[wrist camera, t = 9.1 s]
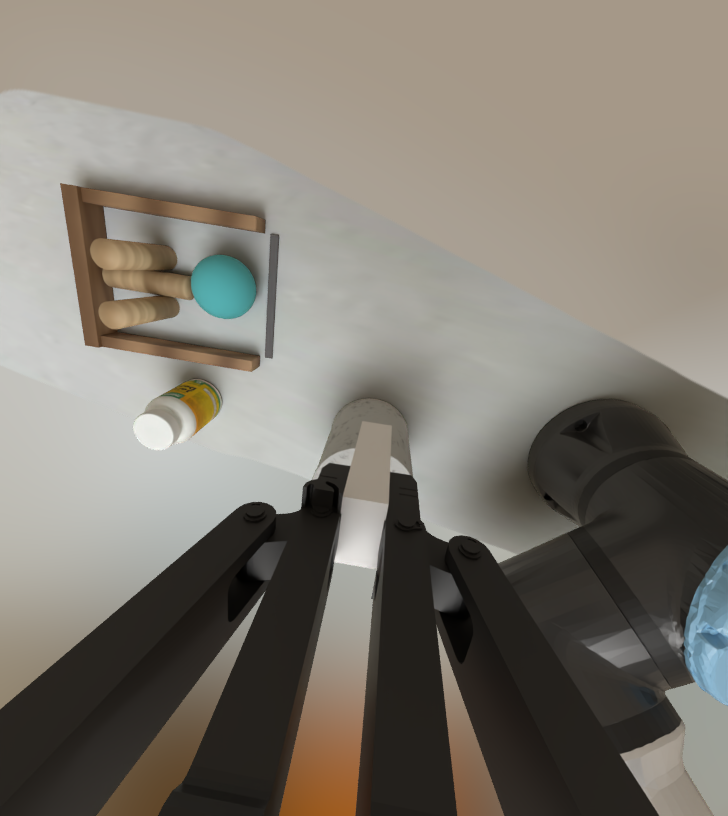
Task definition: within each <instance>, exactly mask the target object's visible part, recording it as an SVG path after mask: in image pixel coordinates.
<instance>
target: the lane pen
mask: <svg viewBox="0 0 728 816" xmlns="http://www.w3.org/2000/svg"><path fill="white" fill-rule="evenodd" d="M60 185H61V191H62V198H63V204H64V211H65V217H66V224H67V230H68V236H69V243H70V249H71V256H72V262H73V269H74V275H75V282H76V288H77V295H78V301H79V308H80V314H81V321H82V327H83V334H84V340H85V345H87V346H93V347H108V348H114V349H120V350H125V351H131V352H137V353H143V354H149V355H155V356H161V357H167V358H173V359H179V360H185V361H191V362H197V363H202V364H208V365H214V366H220V367H226V368H232V369H238V370H244V371H250V372H252V371H253V370H255V369H256V368H257V367H259V366H260V356H257V355H251V354H245V353H239V352H233V351H227V350H222V349H216V348H210V347H204V346H198V345H192V344H186V343H180V342H174V341H168V340H162V339H156V338H150V337H144V336H138V335H133V334H127V333H121V332H118V330H117V329H111V328H109V327H107V326H106V325H105V324H104V323H103V322H102V321H101V319H100V317H99V312H98V311H99V307H100V305H101V304H102V303H104V302H107V301H114V296H113V288H112V287H110V286H108V285H107V284H106V283H105V282H104V279H103V276H102V271H103V269H102V268H101V267H99V266H98V265H97V264H96V263H95V262H94V260H93V259H92V256H91V253H90V247H91V244H92V242H93V241H94V240H95V239H98V238H103V239H107V236H106V228H105V219H104V210H103V206H104V207H110V208H116V209H122V210H128V211H134V212H140V213H146V214H152V215H158V216H164V217H170V218H176V219H182V220H188V221H194V222H200V223H205V224H211V225H217V226H223V227H229V228H235V229H241V230H247V231H253V232H259V233H265V220H264V219H261V218H259V217H256V216H250V215H244V214H238V213H232V212H226V211H220V210H214V209H208V208H202V207H196V206H190V205H184V204H178V203H172V202H166V201H160V200H154V199H148V198H142V197H136V196H131V195H125V194H119V193H113V192H107V191H101V190H95V189H89V188H83V187H78V186H73V185H67V184H61V183H60Z"/></svg>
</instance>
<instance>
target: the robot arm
mask: <svg viewBox="0 0 728 816" xmlns="http://www.w3.org/2000/svg"><path fill="white" fill-rule="evenodd" d="M391 435H392V426H391V425H384V424H378V423H372V422H366V421H362V424H361V428H360V432H359V436H358V440H357V443H356V447H355V451H354V455H353V459H352V463H351V466H347V465H341V464H335V463H328V464H327V465H325V466H324V467H323V468H322V470H321V472H320V474H319V477H318V479H314V480H311V481H309V482H307V483H306V484H305V485H304V486H303V494H302V507H301V510H299V511H297V512H293V513H288V514H276V510H275V509H274V508H273V507H272V506H271V505H269V504H267V503H262V502H251V503H247V504H244V505H242V506H240V507H239V508H238V509H236V510H235V511H234V512H233V513H231V514H230V515H229V516H228V517H227V518H225V519H224V520H223V521H222V522H221V523H220V524H219V525H217V526H216V527H215V528H214V529H213V530H211V531H210V532H209V533H208V534H207V535H206V536H204V537H203V538H202V539H201V540H199V541H198V542H197V543H196V544H195V545H194V546H192V547H191V548H190V549H189V550H188V551H186V552H185V553H184V554H183V555H182V556H181V557H179V558H178V559H177V560H176V561H175V562H174V563H173V564H171V565H170V566H169V567H168V568H166V569H165V570H164V571H163V572H162V573H161V574H159V575H158V576H157V577H156V578H155V579H153V580H152V581H151V582H150V583H149V584H148V585H147V586H145V587H144V588H143V589H142V590H141V591H140V592H138V593H137V594H136V595H135V596H133V597H132V598H131V599H130V600H129V601H128V602H126V603H125V604H124V605H123V606H122V607H120V608H119V609H118V610H117V611H116V612H115V613H113V614H112V615H111V616H110V617H109V618H108V619H107V620H105V621H104V622H103V623H102V624H100V625H99V626H98V627H97V628H96V629H95V630H93V631H92V632H91V633H90V634H89V635H87V636H86V637H85V638H84V639H83V640H82V641H80V642H79V643H78V644H77V645H76V646H74V647H73V648H72V649H71V650H70V651H69V652H67V653H66V654H65V655H64V656H63V657H62V658H60V659H59V660H58V661H57V662H56V663H54V664H53V665H52V666H51V667H50V668H49V669H47V670H46V671H45V672H44V673H43V674H41V675H40V676H39V677H38V678H37V679H36V680H34V681H33V682H32V683H31V684H30V685H29V686H27V687H26V688H25V689H24V690H23V691H21V692H20V693H19V694H18V695H17V696H16V697H14V698H13V699H12V700H11V701H10V702H9V703H7V704H6V705H5V706H4V707H3V708H2V709H0V816H96V815H97V814H98V813H99V811H100V810H101V809H102V807H103V806H104V804H105V803H106V802H107V801H108V799H109V798H110V797H111V795H112V794H113V793H114V791H115V790H116V789H117V787H118V786H119V785H120V783H121V782H122V780H123V779H124V778H125V776H126V775H127V774H128V773H129V771H130V770H131V769H132V767H133V766H134V765H135V763H136V762H137V761H138V759H139V758H140V757H141V755H142V754H143V753H144V751H145V750H146V749H147V747H148V746H149V745H150V743H151V742H152V741H153V740H154V738H155V737H156V736H157V734H158V733H159V731H160V730H161V729H162V727H163V726H164V725H165V724H166V722H167V721H168V720H169V718H170V717H171V715H172V714H173V713H174V712H175V710H176V709H177V708H178V706H179V705H180V704H181V702H182V700H183V699H184V698H185V697H186V695H187V694H188V693H189V692H190V690H191V689H192V687H193V686H194V685H195V684H196V682H197V681H198V680H199V678H200V677H201V676H202V674H203V673H204V672H205V670H206V669H207V668H208V666H209V665H210V664H211V662H212V661H213V660H214V658H215V657H216V656H217V654H218V653H219V652H220V650H221V649H222V647H224V645H225V644H226V643H227V641H228V640H229V638H230V637H231V636H232V635H233V633H234V632H235V630H236V629H237V628H238V627H239V625H240V624H241V623H242V621H243V620H244V619H245V617H246V616H247V615H248V613H249V612H250V611H251V609H252V608H253V607H254V605H255V604H256V603H257V601H258V600H259V599H260V597H261V596H262V595H263V593H264V592H265V594H264V596H263V599H262V601H261V603H260V606H259V608H258V610H257V613H256V615H255V617H254V620H253V622H252V624H251V627H250V629H249V631H248V634H247V636H246V638H245V641H244V643H243V645H242V648H241V650H240V652H239V655H238V657H237V660H236V662H235V665H234V667H233V669H232V671H231V673H230V676H229V678H228V680H227V683H226V685H225V688H224V690H223V692H222V695H221V697H220V699H219V702H218V704H217V706H216V709H215V711H214V713H213V716H212V718H211V720H210V723H209V725H208V727H207V730H206V732H205V734H204V737H203V739H202V741H201V744H200V746H199V748H198V751H197V753H196V756H195V758H194V760H193V762H192V765H191V767H190V769H189V771H188V773H187V776H186V777H185V779H184V781H183V782H182V783H181V784H180V785H179V786H178V787H176V789H174V790H173V791H172V792H171V794H170V796H169V797H168V799H167V800H166V802H165V803H164V805H163V807H162V809H161V811H160V813H159V815H158V816H279V812H280V808H281V803H282V798H283V794H284V790H285V785H286V781H287V776H288V772H289V767H290V763H291V758H292V754H293V749H294V745H295V740H296V736H297V731H298V727H299V722H300V718H301V713H302V709H303V704H304V700H305V695H306V691H307V686H308V682H309V677H310V673H311V668H312V664H313V659H314V655H315V650H316V646H317V641H318V637H319V632H320V627H321V623H322V618H323V613H324V610H325V605H326V601H327V596H328V591H329V587H330V582H331V578H332V572H333V564H334V562H337V563H343V564H348V565H354V566H360V567H365V568H371V569H377V571H376V577H375V582H374V587H373V593H372V599H373V607H372V619H371V632H370V644H369V657H368V669H367V681H366V694H365V707H364V718H363V731H362V742H361V755H360V767H359V779H358V792H357V804H356V816H457V810H456V800H455V792H454V782H453V773H452V764H451V755H450V746H449V737H448V727H447V718H446V709H445V700H444V691H443V682H442V674H441V664H440V655H439V646H438V638H437V628H438V631H439V633H440V636H441V639H442V642H443V645H444V647H445V650H446V653H447V656H448V658H449V661H450V664H451V667H452V670H453V673H454V676H455V678H456V681H457V684H458V687H459V690H460V692H461V695H462V698H463V701H464V704H465V706H466V709H467V712H468V714H469V718H470V720H471V723H472V726H473V729H474V732H475V734H476V737H477V740H478V743H479V746H480V748H481V751H482V754H483V757H484V760H485V762H486V765H487V768H488V771H489V774H490V776H491V779H492V782H493V785H494V788H495V790H496V793H497V796H498V799H499V802H500V804H501V807H502V810H503V813H504V816H714V815H713V814H712V812H711V810H710V809H709V807H708V805H707V804H706V802H705V800H704V799H703V797H702V796H701V794H700V792H699V791H698V789H697V787H696V786H695V784H694V783H693V781H692V779H691V778H690V776H689V774H688V773H687V771H686V770H685V767H684V764H683V758H682V754H683V745H684V736H685V724H684V723H683V721H682V719H681V718H680V717H679V715H678V714H677V712H676V710H675V709H674V708H673V706H672V704H671V703H670V702H669V700H668V698H667V697H666V695H665V691H666V690H669V689H671V688H676V687H680V686H683V685H687V684H690V683H693V682H696V683H697V684H698V685H699V687H700V688H701V689H702V690H703V691H705V692H707V693H709V694H710V695H712V696H713V697H714V698H715V699H716V700H718V701H719V702H721V703H722V704H724V705H727V706H728V481H727V480H726V479H724V478H722V477H721V476H719V475H717V474H716V473H714V472H712V471H711V470H709V469H707V468H706V467H704V466H702V465H701V464H699V463H697V462H696V461H694V460H693V459H691V458H689V457H688V455H687V454H686V453H685V451H684V450H683V448H682V447H681V446H680V444H679V443H678V441H677V440H676V439H675V438H674V436H673V435H672V434H671V432H670V430H669V429H668V427H667V426H666V425H665V424H664V423H663V422H662V421H661V420H660V419H659V418H657V417H656V416H655V415H653V414H651V413H650V412H648V411H646V410H644V409H642V408H641V407H639V406H637V405H635V404H632V403H629V402H626V401H621V400H613V399H603V400H594V401H589V402H585V403H582V404H579V405H576V406H574V407H572V408H569V409H567V410H566V411H564V412H562V413H561V414H559V415H558V416H556V417H555V418H554V419H552V420H551V421H550V422H549V423H548V424H547V425H546V426H545V427H544V428H543V429H542V430H541V431H540V433H539V434H538V436H537V437H536V439H535V441H534V442H533V445H532V447H531V450H530V453H529V457H528V473H529V477H530V480H531V482H532V484H533V486H534V488H535V489H536V491H537V492H538V493H539V495H540V496H541V498H542V499H543V500H544V501H545V503H546V504H547V505H549V506H550V507H551V508H552V509H553V510H555V511H556V512H558V513H560V514H561V515H563V516H564V517H566V518H567V519H569V520H570V521H572V522H574V523H575V524H577V525H578V526H580V527H579V528H577V529H575V530H573V531H570V532H568V533H565V534H563V535H561V536H559V537H556V538H554V539H552V540H550V541H548V542H546V543H543V544H541V545H539V546H537V547H535V548H533V549H530V550H528V551H526V552H523V553H521V554H519V555H517V556H514V557H512V558H510V559H507V560H505V561H503V562H500V563H497V562H496V560H495V559H494V557H493V556H492V554H491V553H490V551H489V550H488V548H487V547H486V546H485V545H484V544H482V543H481V542H479V541H478V540H476V539H474V538H471V537H468V536H454V537H453V538H452V539H450V541H449V543H448V542H445V541H443V540H440V539H438V538H436V537H434V536H432V535H431V534H429V533H428V532H427V531H426V528H425V526H424V523H423V522H422V521H421V520H420V510H419V500H418V492H417V491H418V490H417V482H416V481H415V480H414V478H413V477H412V475H407V474H401V473H395V472H390V459H391ZM436 625H437V628H436ZM670 687H671V688H670Z"/></svg>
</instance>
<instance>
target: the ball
mask: <svg viewBox="0 0 728 816" xmlns="http://www.w3.org/2000/svg"><path fill="white" fill-rule="evenodd" d="M191 289H192V293H193V296H194V298H195V300H196V301H197V303H198V304H199V305H200V307H201V308H202V309H203V310H205V311H206V312H207V313H209V314H211V315H213V316H215V317H218V318H223V319H233V318H237V317H240V316H242V315H243V314H245V313H246V312H247V311H248V310H249V309H250V308H251V307H252V305H253V303H254V301H255V297H256V284H255V281H254V278H253V276H252V274H251V272H250V271H249V270H248V268H247V267H246V266H245V265H244V264H243V263H241V262H240V261H239V260H237V259H235V258H233V257H230V256H226V255H213V256H209V257H207V258H205V259H203V260H202V261H200V262H199V263H198V264H197V266H196V267H195V269H194V270H193V273H192V276H191Z"/></svg>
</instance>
